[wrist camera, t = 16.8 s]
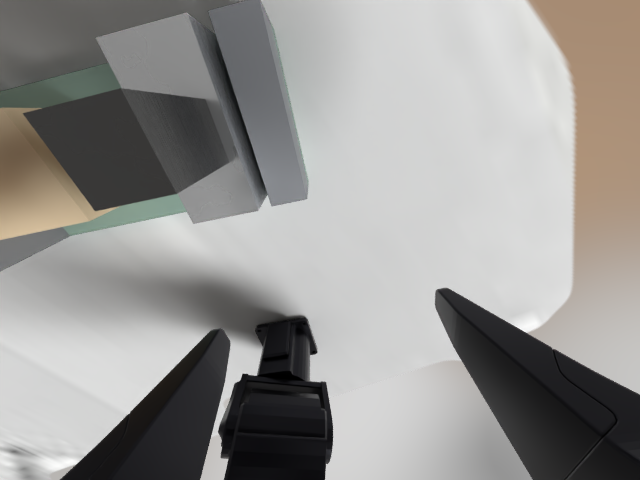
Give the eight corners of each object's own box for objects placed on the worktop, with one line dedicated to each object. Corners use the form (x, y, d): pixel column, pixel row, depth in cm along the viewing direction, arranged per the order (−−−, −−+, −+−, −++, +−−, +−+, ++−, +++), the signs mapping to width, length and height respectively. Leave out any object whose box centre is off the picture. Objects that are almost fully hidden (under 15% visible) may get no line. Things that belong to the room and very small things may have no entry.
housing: (144, 194, 18) (89, 221, 14) (53, 214, 19) (-26, 245, 14) (92, 109, 15) (2, 107, 11) (-13, 135, 16) (-140, 144, 11)
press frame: (308, 181, 19) (305, 224, 12) (56, 234, 21) (-84, 300, 14) (273, 28, 14) (231, -61, 7) (-51, 113, 16) (-357, 113, 9)
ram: (270, 189, 18) (229, 262, 9) (219, 199, 18) (131, 281, 9) (224, 41, 13) (56, -93, 5) (157, 59, 14) (-118, -36, 5)
